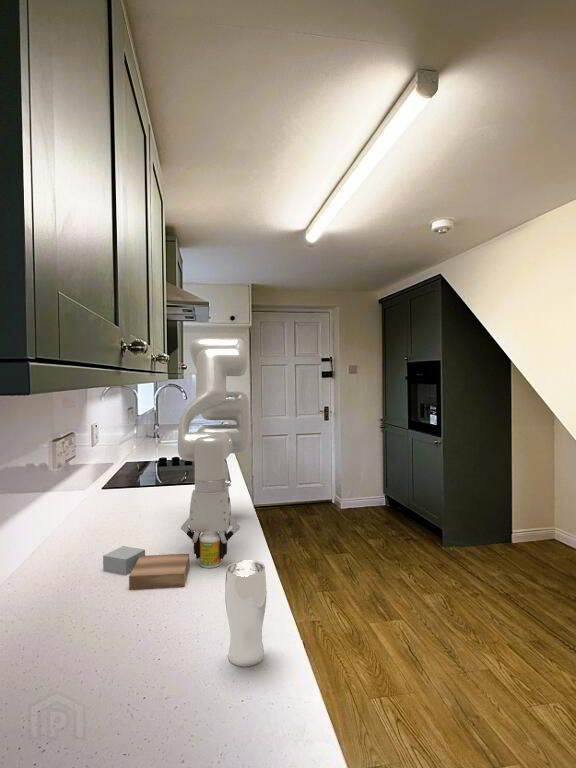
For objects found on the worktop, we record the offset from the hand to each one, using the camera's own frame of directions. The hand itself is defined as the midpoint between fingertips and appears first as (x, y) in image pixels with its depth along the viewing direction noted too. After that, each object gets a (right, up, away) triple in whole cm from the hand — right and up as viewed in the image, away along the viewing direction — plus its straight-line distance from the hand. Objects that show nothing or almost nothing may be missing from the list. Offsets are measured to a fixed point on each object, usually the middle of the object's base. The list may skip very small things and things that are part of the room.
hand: (210, 556), depth 118 cm
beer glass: (+12, -3, -39) cm, 41 cm away
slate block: (-21, -2, -2) cm, 21 cm away
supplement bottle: (0, -2, 0) cm, 2 cm away
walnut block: (-11, -2, -7) cm, 13 cm away
